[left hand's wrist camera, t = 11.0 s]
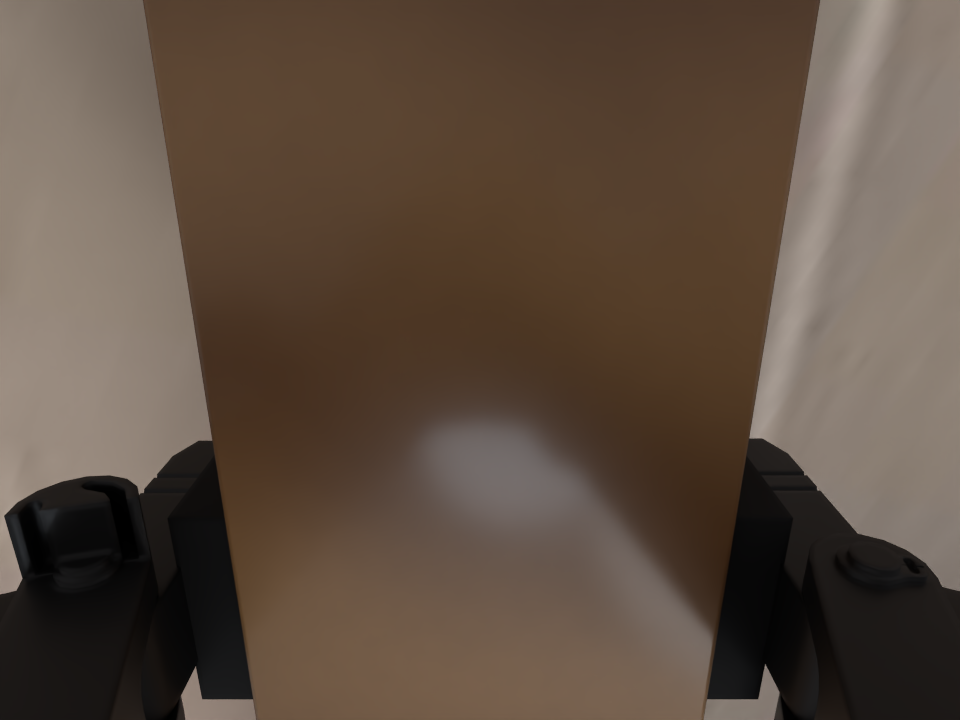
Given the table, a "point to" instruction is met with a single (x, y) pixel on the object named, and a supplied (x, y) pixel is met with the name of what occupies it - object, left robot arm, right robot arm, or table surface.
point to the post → (480, 335)
